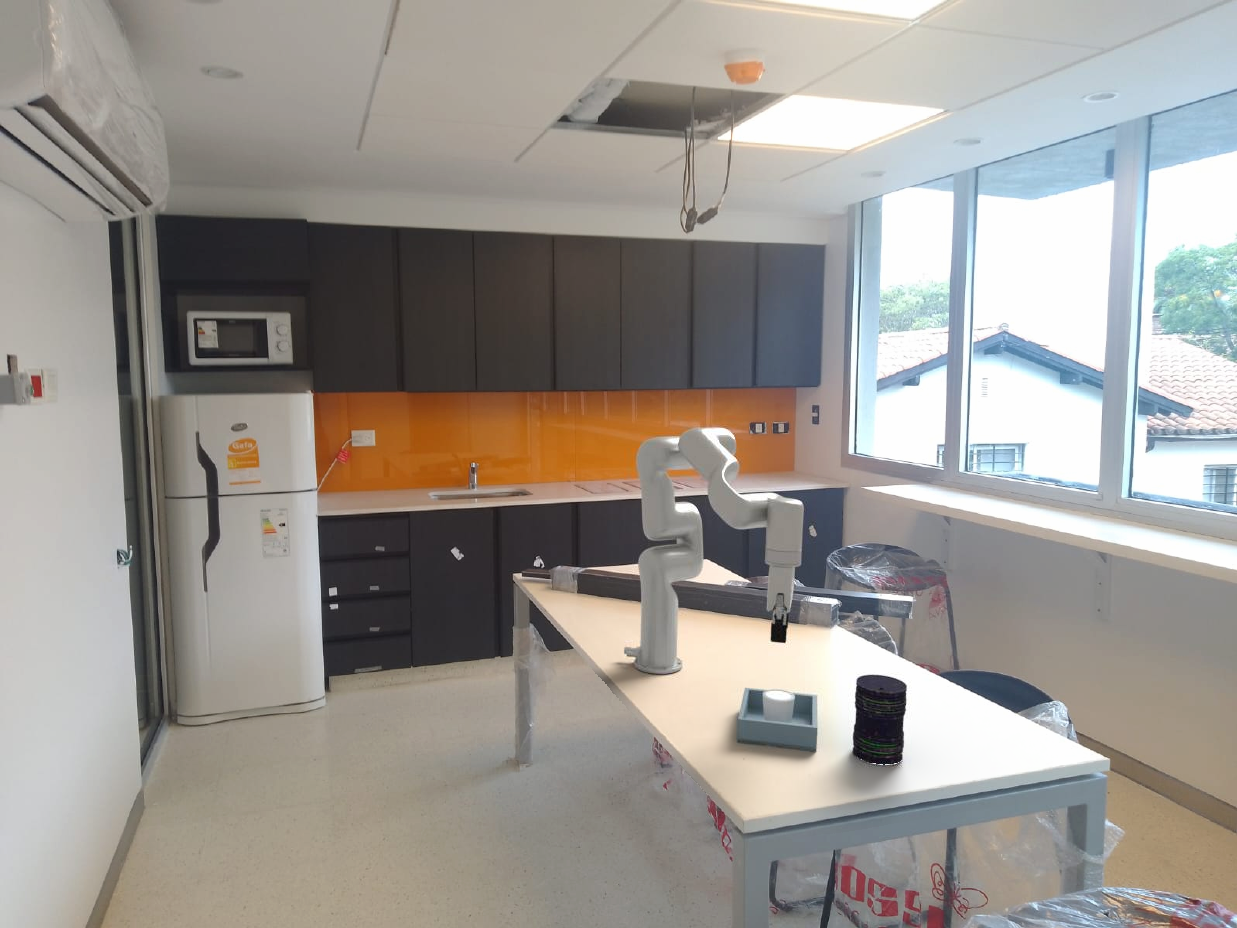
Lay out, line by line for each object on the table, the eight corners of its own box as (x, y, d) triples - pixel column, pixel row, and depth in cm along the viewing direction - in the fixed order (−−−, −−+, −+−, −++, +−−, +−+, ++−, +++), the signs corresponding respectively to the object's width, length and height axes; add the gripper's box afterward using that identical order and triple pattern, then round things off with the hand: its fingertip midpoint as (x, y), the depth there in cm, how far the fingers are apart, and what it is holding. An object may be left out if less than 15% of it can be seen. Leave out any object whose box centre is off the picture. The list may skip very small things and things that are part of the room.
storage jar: (852, 740, 174) (856, 671, 172) (902, 747, 171) (906, 677, 169) (851, 761, 164) (855, 688, 163) (904, 769, 161) (908, 695, 160)
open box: (737, 742, 172) (737, 718, 171) (744, 708, 189) (744, 687, 189) (816, 751, 168) (817, 727, 168) (816, 716, 186) (817, 695, 185)
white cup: (795, 722, 180) (797, 691, 180) (790, 735, 174) (792, 702, 173) (764, 717, 183) (765, 686, 182) (758, 729, 176) (759, 697, 176)
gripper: (767, 547, 185) (764, 621, 187) (762, 564, 169) (758, 645, 171) (802, 549, 184) (798, 624, 186) (800, 567, 167) (796, 649, 169)
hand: (779, 634), depth 178 cm, fingers open, 9 cm apart
